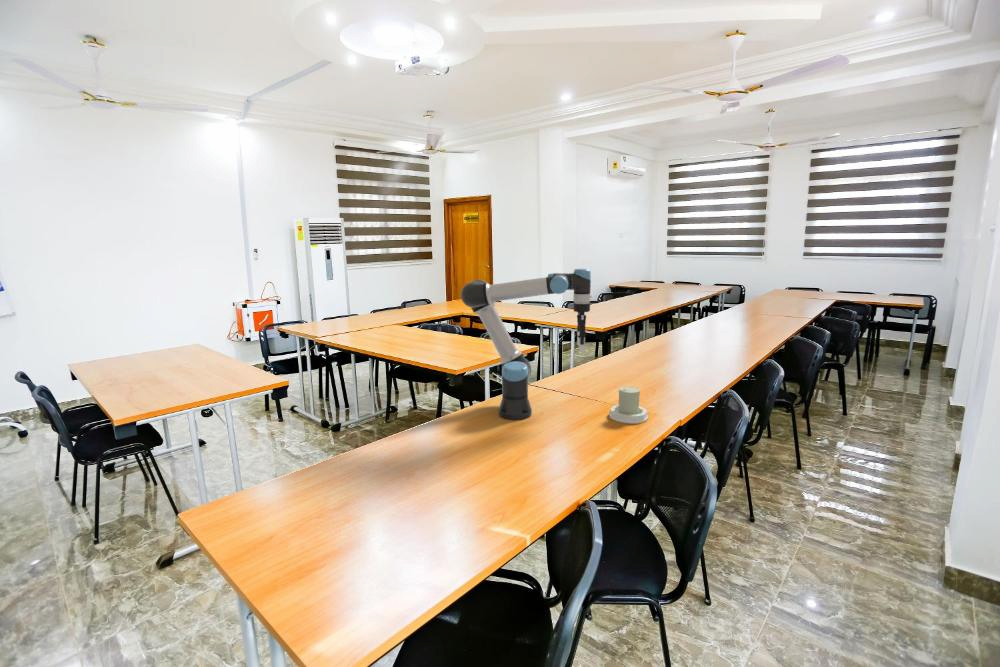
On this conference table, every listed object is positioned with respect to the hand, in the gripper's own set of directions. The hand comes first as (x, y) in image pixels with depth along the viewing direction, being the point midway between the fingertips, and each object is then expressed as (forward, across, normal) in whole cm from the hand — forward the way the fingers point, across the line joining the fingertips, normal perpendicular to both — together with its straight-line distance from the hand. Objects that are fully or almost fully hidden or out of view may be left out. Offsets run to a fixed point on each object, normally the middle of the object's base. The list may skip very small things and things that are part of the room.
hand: (580, 348), depth 231 cm
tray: (+29, -12, -21) cm, 38 cm away
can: (+28, -12, -21) cm, 37 cm away
